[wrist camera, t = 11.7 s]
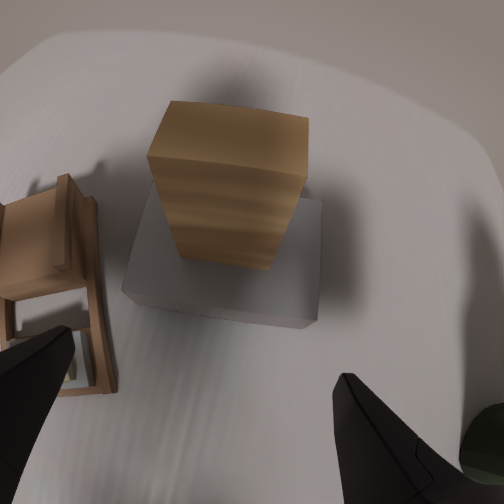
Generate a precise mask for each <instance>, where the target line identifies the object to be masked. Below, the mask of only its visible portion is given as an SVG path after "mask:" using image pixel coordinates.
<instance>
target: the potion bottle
mask: <svg viewBox="0 0 504 504" xmlns="http://www.w3.org/2000/svg"><path fill="white" fill-rule="evenodd" d="M460 462H461V467H462V470H463V474H465V475H466V476H467V477H469V478H470V479H472V480H474V481H476V482H478V483H481V484H489V485H504V403H500V404H494V405H492V406H490V407H488V408H486V409H484V410H483V411H482V412H481V414H480V415H479V416H478V417H477V418H476V419H475V420H474V421H473V423H472V425H471V427H470V428H469V430H468V432H467V434H466V436H465V439H464V442H463V445H462V449H461V461H460Z"/></svg>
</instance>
